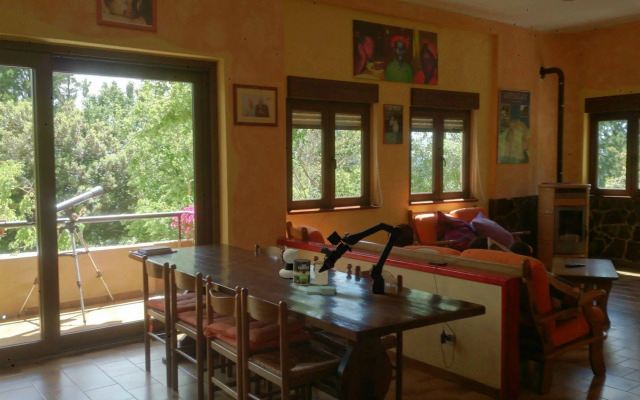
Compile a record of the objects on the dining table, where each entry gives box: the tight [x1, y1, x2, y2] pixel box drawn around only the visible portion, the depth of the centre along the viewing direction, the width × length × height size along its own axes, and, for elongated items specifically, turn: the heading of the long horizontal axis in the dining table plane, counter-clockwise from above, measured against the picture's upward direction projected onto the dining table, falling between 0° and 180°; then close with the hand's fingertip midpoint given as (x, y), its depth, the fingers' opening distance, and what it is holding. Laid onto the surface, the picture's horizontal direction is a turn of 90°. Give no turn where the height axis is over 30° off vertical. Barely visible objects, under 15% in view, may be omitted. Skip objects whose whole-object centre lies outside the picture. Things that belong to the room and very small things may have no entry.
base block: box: [306, 285, 335, 296], centre depth 324 cm, size 15×15×2 cm
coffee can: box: [292, 258, 312, 286], centre depth 344 cm, size 10×10×14 cm
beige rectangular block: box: [314, 260, 329, 285], centre depth 323 cm, size 7×7×12 cm
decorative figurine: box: [279, 245, 300, 279], centre depth 364 cm, size 15×15×20 cm
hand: (319, 271), depth 323 cm, fingers closed on beige rectangular block, 7 cm apart
